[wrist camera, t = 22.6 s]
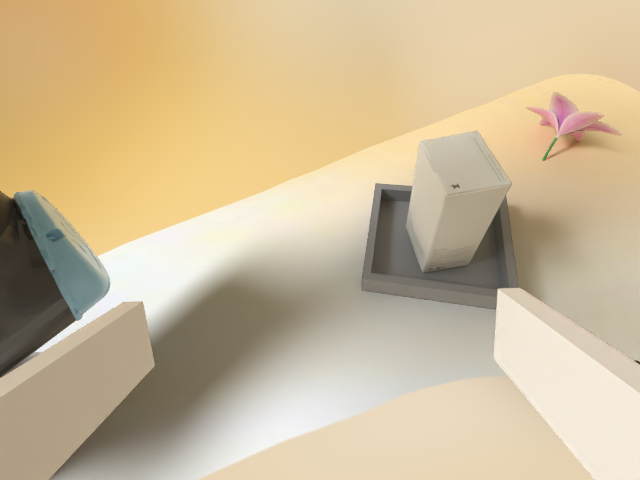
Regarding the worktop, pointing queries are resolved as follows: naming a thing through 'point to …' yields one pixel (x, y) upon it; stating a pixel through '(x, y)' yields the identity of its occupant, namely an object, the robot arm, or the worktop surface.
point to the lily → (570, 119)
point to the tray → (442, 285)
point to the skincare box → (453, 199)
